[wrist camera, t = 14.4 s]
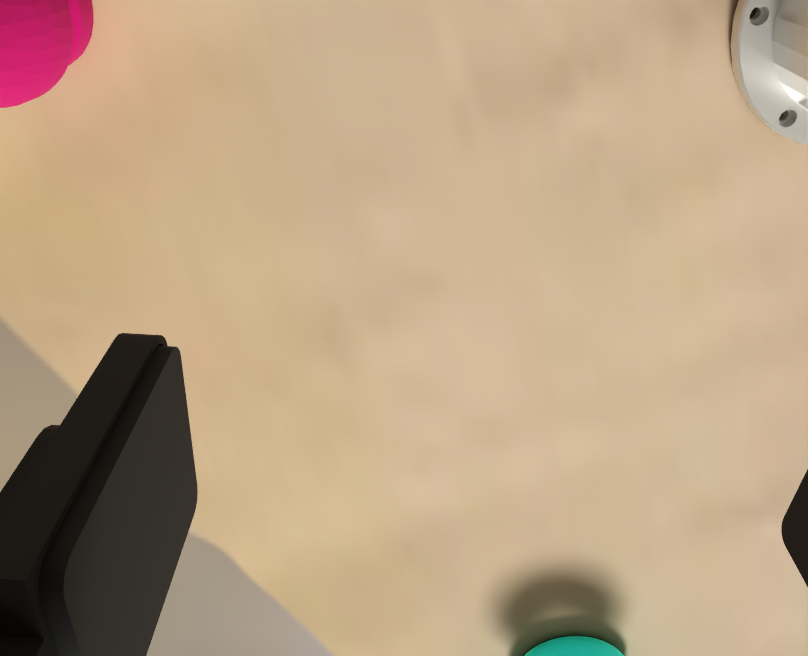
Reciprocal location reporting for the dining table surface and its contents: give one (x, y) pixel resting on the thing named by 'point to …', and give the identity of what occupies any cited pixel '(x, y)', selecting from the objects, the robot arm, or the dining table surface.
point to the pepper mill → (39, 44)
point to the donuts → (574, 647)
